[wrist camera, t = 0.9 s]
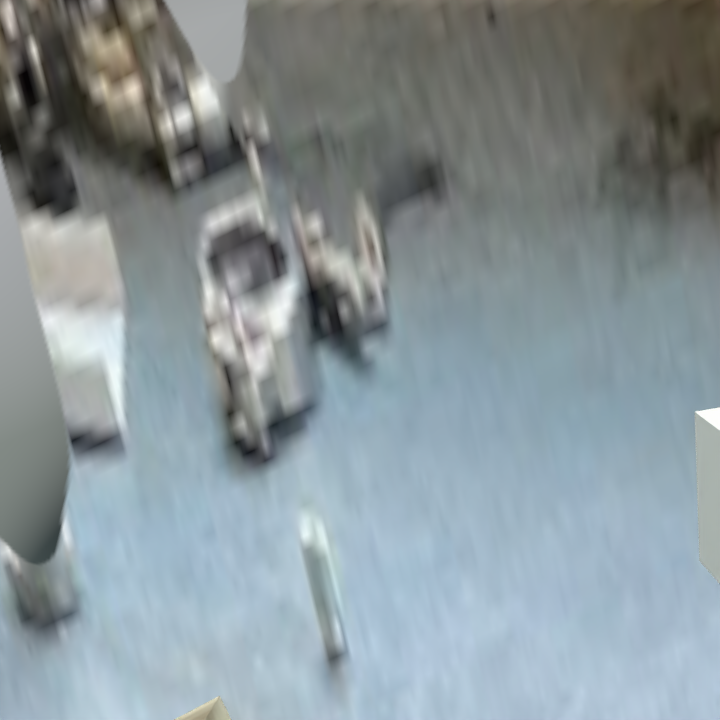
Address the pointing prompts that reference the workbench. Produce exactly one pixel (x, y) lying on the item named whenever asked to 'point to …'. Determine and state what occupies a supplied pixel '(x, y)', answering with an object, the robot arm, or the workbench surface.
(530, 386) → the workbench surface
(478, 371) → the workbench surface
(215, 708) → the key block
